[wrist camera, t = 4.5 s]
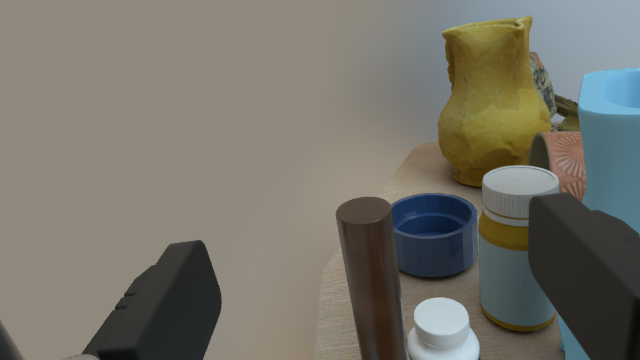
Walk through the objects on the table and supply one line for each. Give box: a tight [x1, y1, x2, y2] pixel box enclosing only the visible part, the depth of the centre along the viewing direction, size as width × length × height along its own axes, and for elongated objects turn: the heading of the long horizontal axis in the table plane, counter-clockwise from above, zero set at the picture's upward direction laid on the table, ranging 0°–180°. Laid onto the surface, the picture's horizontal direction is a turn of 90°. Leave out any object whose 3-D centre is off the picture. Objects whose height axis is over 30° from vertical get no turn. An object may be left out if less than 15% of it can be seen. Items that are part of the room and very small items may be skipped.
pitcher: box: [438, 16, 551, 187], centre depth 68 cm, size 17×19×25 cm
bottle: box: [478, 165, 559, 332], centre depth 40 cm, size 7×7×15 cm
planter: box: [528, 131, 586, 202], centre depth 53 cm, size 12×12×11 cm
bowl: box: [390, 193, 478, 277], centre depth 53 cm, size 11×11×6 cm
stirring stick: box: [336, 197, 409, 360], centre depth 27 cm, size 3×3×22 cm
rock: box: [529, 52, 557, 119], centre depth 80 cm, size 14×17×10 cm
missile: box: [554, 94, 581, 131], centre depth 80 cm, size 7×25×7 cm, turn 9°
